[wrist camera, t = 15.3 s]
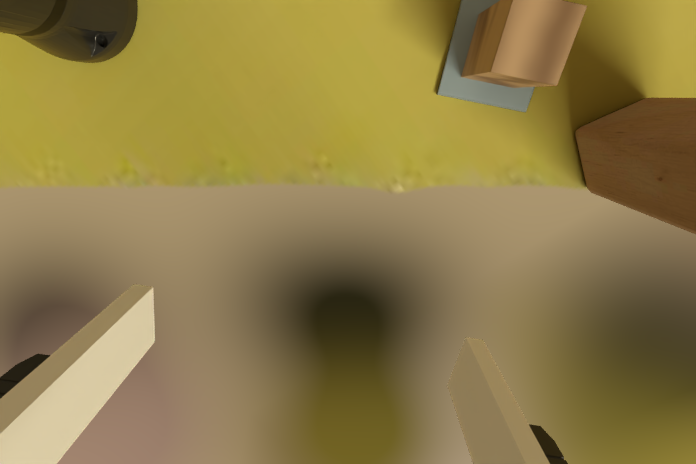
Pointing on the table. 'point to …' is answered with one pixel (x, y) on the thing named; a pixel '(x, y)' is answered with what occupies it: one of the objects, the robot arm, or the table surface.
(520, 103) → the pad
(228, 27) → the table surface
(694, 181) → the wooden block
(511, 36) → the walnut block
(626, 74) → the table surface
